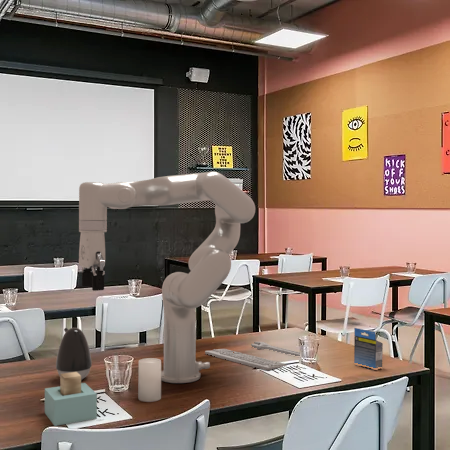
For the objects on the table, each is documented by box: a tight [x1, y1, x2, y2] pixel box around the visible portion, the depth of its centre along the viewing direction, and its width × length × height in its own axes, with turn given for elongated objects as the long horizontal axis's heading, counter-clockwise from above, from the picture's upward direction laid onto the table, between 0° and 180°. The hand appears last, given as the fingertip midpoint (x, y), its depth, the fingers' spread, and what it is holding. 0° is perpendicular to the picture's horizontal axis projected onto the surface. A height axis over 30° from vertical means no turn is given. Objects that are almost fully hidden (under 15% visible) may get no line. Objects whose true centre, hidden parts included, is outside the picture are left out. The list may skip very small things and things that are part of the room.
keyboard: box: [204, 348, 287, 372], centre depth 194 cm, size 29×10×2 cm, turn 45°
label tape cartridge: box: [353, 327, 384, 368], centre depth 186 cm, size 9×4×12 cm, turn 37°
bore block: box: [44, 382, 98, 427], centre depth 139 cm, size 10×10×6 cm
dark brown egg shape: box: [55, 327, 93, 381], centre depth 170 cm, size 10×10×15 cm
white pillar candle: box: [137, 357, 162, 403], centre depth 153 cm, size 6×6×10 cm
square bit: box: [59, 372, 82, 396], centre depth 139 cm, size 4×4×10 cm
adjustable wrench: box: [250, 341, 301, 357], centre depth 205 cm, size 25×6×2 cm, turn 40°
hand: (92, 288), depth 160 cm, fingers open, 9 cm apart
